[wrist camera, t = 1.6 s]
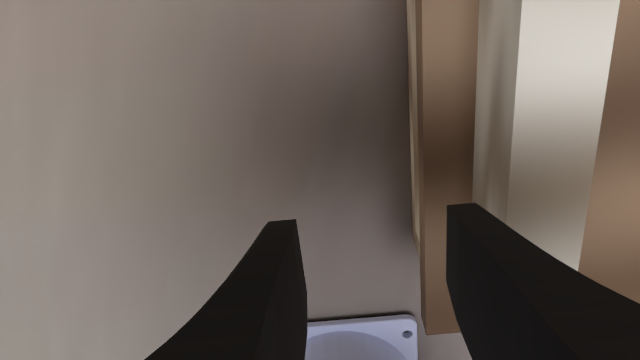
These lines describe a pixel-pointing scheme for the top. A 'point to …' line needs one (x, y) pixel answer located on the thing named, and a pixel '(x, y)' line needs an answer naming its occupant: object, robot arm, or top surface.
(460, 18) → the lid
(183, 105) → the top surface
